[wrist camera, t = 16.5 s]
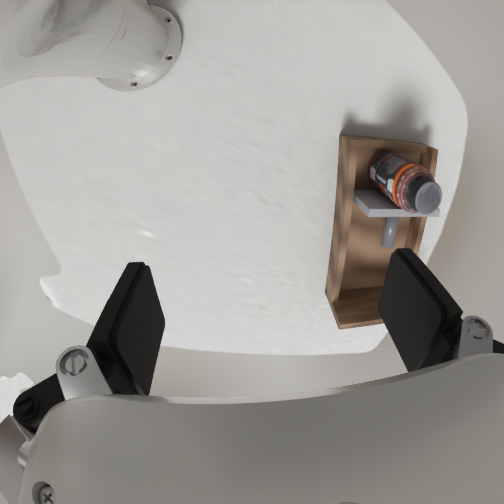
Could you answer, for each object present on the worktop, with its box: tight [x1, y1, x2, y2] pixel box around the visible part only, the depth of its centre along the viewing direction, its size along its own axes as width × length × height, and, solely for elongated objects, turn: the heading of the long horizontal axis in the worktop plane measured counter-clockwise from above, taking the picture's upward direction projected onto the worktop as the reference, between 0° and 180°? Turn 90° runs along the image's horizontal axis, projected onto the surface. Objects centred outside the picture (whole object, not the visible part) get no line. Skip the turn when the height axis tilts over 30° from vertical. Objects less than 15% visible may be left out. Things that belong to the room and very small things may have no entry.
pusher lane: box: [325, 135, 438, 329], centre depth 37 cm, size 26×14×9 cm, turn 2°
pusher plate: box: [353, 190, 440, 248], centre depth 36 cm, size 7×11×7 cm, turn 92°
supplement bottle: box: [368, 151, 442, 215], centre depth 31 cm, size 6×6×11 cm
